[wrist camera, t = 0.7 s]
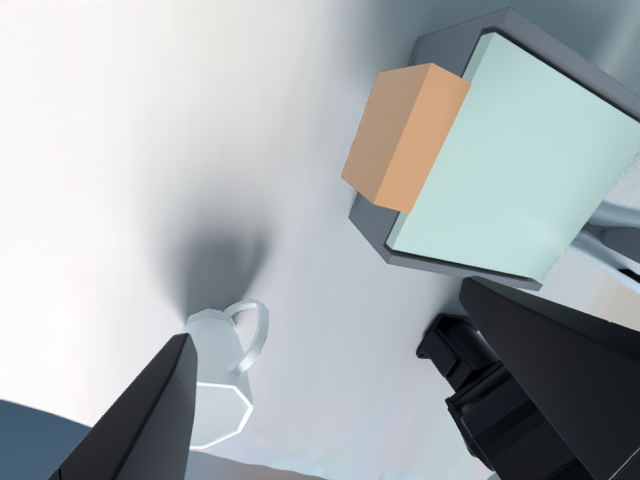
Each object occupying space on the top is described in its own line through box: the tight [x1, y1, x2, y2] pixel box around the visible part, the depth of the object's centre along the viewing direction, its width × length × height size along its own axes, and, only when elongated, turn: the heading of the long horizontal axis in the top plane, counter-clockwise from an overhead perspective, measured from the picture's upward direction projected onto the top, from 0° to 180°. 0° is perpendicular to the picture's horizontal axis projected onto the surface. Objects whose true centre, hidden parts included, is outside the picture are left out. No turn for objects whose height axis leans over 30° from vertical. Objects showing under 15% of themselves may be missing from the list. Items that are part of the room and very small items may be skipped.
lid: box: [341, 32, 640, 280], centre depth 15 cm, size 18×11×4 cm, turn 71°
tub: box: [349, 7, 640, 291], centre depth 20 cm, size 14×13×7 cm
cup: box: [180, 299, 269, 448], centre depth 21 cm, size 7×10×8 cm
